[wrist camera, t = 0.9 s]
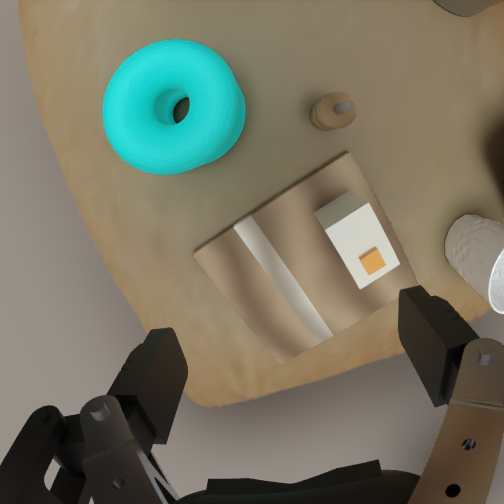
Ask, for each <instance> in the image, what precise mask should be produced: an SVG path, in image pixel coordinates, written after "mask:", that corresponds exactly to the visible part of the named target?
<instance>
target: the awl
mask: <svg viewBox="0 0 504 504" xmlns="http://www.w3.org/2000/svg"><path fill="white" fill-rule="evenodd" d="M355 115H356V107H355V104H354V102H353V101H352V99H351V98H350V97H349V96H347V95H346V94H344V93H340V92H333V93H330V94H328V95H326V96H325V97H324V98H323V99H321V100H320V101H319V102H317V103H316V104H315V105H314V106H313V107H312V108H311V110H310V120H311V122H312V124H313V125H314V126H315V127H317V128H318V129H321V130H330V129H336V128H341V127H345V126H348V125H349V124H351V123H352V121H353V120H354V118H355Z"/></svg>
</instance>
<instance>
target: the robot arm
mask: <svg viewBox="0 0 504 504" xmlns="http://www.w3.org/2000/svg"><path fill="white" fill-rule="evenodd" d="M434 1H435V2H436V3H438V4H439V5H440V6H442V7H443V8H444V9H446V10H448V11H450V12H451V13H454V14H457V15H460V16H471V15H474V14H476V13H478V12H480V11H482V10H484V9H486V8H489V7H491V6H493V5H495V4H498V3H500V2H502V1H504V0H434ZM398 332H399V338H400V341H401V344H402V346H403V347H404V349H405V351H406V353H407V355H408V356H409V358H410V360H411V362H412V364H413V366H414V368H415V369H416V371H417V373H418V375H419V377H420V379H421V381H422V383H423V385H424V387H425V389H426V391H427V392H428V395H429V397H430V398H431V400H432V403H433V405H434V407H438V406H441V405H444V404H447V405H448V408H447V411H446V414H445V417H444V420H443V423H442V426H441V428H440V431H439V434H438V437H437V439H436V442H435V444H434V447H433V449H432V452H431V454H430V457H429V459H428V461H427V463H426V466H425V468H424V470H423V472H422V475H421V476H419V475H416V474H413V473H409V472H404V471H398V470H381V467H380V463H379V460H374V461H370V462H365V463H361V464H356V465H351V466H346V467H341V468H336V469H334V470H331V471H329V472H326V473H323V474H320V475H318V476H315V477H312V478H309V479H307V480H303V481H301V482H297V483H292V484H287V483H278V482H271V481H263V480H257V479H250V478H240V479H208V483H207V488H206V490H202V491H199V492H195V493H192V494H189V495H187V496H185V497H182V498H180V497H179V496H178V495H177V493H176V492H175V490H174V489H173V487H172V485H171V484H170V482H169V480H168V479H167V477H166V475H165V473H164V472H163V470H162V468H161V466H160V465H159V463H158V461H157V459H156V457H155V456H154V454H153V453H152V451H151V449H152V446H153V444H165V445H166V443H167V440H168V437H169V434H170V430H171V427H172V424H173V421H174V418H175V414H176V411H177V408H178V405H179V402H180V399H181V395H182V392H183V389H184V386H185V383H186V380H187V376H188V367H187V362H186V359H185V357H184V354H183V352H182V349H181V347H180V344H179V342H178V339H177V336H176V334H175V332H174V330H173V329H172V328H161V329H152V330H150V332H149V334H148V335H147V337H146V339H145V341H144V342H143V344H140V345H138V346H137V347H136V348H135V349H134V350H133V351H132V352H131V353H130V354H129V356H128V358H127V360H126V363H124V365H123V367H122V368H121V371H120V372H119V374H118V375H117V377H116V379H115V380H114V382H113V384H112V386H111V387H110V389H109V391H108V393H107V395H102V396H98V397H95V398H93V399H91V400H90V401H88V402H87V403H86V404H85V405H84V406H83V407H82V409H81V411H80V414H76V415H70V416H65V417H63V415H62V414H61V413H60V411H59V410H58V408H57V407H55V406H50V405H48V406H43V407H41V408H39V409H37V410H36V411H34V412H33V413H32V414H31V416H30V417H29V419H28V420H27V422H26V423H25V425H24V427H23V428H22V430H21V431H20V433H19V435H18V436H17V438H16V439H15V441H14V443H13V445H12V446H11V448H10V450H9V451H8V453H7V455H6V456H5V458H4V460H3V462H2V463H1V465H0V504H89V502H90V498H91V496H92V499H93V502H94V504H485V503H486V500H487V497H488V494H489V490H490V487H491V484H492V480H493V477H494V473H495V470H496V466H497V462H498V457H499V453H500V449H501V444H502V439H503V433H504V345H503V344H502V343H500V342H498V341H496V340H494V339H490V338H480V337H479V336H478V335H477V334H476V333H475V331H474V330H473V329H472V328H471V327H470V326H469V325H468V323H467V322H466V321H465V320H464V319H463V318H462V317H460V315H459V313H458V312H457V311H455V309H454V308H453V307H452V306H451V305H450V304H449V303H448V301H446V300H444V299H442V298H440V297H438V296H432V297H431V296H430V295H429V294H428V292H427V291H426V290H425V289H424V288H423V287H422V286H421V285H418V286H414V287H409V288H405V289H401V290H400V291H399V314H398ZM52 459H54V460H55V461H56V462H57V463H58V464H59V465H60V466H61V467H60V469H59V471H58V473H57V475H56V478H55V480H54V482H53V485H52V487H51V489H50V491H49V490H48V489H47V488H46V486H45V483H44V476H45V473H46V471H47V469H48V467H49V465H50V463H51V461H52Z"/></svg>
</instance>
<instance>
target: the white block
mask: <svg viewBox="0 0 504 504" xmlns="http://www.w3.org/2000/svg"><path fill="white" fill-rule="evenodd" d="M314 214H315V216H316V217H317V219H318V221H319V222H320V224H321V225H322V227H323V229H324V230H325V232H326V233H327V235H328V237H329V238H330V240H331V242H332V243H333V245H334V247H335V248H336V250H337V251H338V253H339V255H340V256H341V258H342V260H343V262H344V263H345V265H346V267H347V268H348V270H349V272H350V273H351V275H352V277H353V278H354V280H355V282H356V284H357V285H358V287H359V289H362V288H363V287H365V286H367V285H368V284H370V283H372V282H373V281H375V280H376V279H378V278H379V277H381V276H383V275H384V274H386V273H387V272H389V271H390V270H392V269H393V268H395V267H397V266H398V265H400V263H399V260H398V258H397V256H396V254H395V252H394V250H393V248H392V246H391V244H390V242H389V240H388V238H387V236H386V234H385V232H384V230H383V228H382V226H381V224H380V223H379V221H378V219H377V217H376V215H375V213H374V211H373V209H372V208H371V206H370V204H369V202H367V201H366V200H364V199H363V198H361V197H359V196H358V195H356V194H355V193H353V192H351V191H350V190H349V191H347V192H346V193H344V194H343V195H341V196H339V197H338V198H336V199H335V200H333V201H332V202H330V203H328V204H327V205H325V206H324V207H322V208H320V209H319V210H317V211H316V212H314Z"/></svg>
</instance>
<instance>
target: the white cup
mask: <svg viewBox="0 0 504 504" xmlns="http://www.w3.org/2000/svg"><path fill="white" fill-rule="evenodd" d="M445 256H446V258H447V260H448V262H449V264H450V265H451V266H452V267H453V268H454V269H455V270H456V271H457V272H458V273H459V274H460V275H461V276H462V278H463V279H464V280H465V281H466V282H468V284H469V285H470V286H471V287H472V288H473V289H474V290H475V291H476V292H477V293H478V294H479V295H480V296H481V297H482V298H483V299H484V300H485V301H486V302H487V303H488V304H489V305H490V306H491V307H492V308H493V309H494V310H495V311H496V312H498V313H501V314H504V224H502V223H499V222H496V221H494V220H491V219H487V218H483V217H480V216H478V215H464V216H462V217H461V218H459V219H457V220H456V221H455V222H454V224H453V225H452V226H451V228H450V229H449V230H448V234H447V237H446V240H445Z"/></svg>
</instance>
